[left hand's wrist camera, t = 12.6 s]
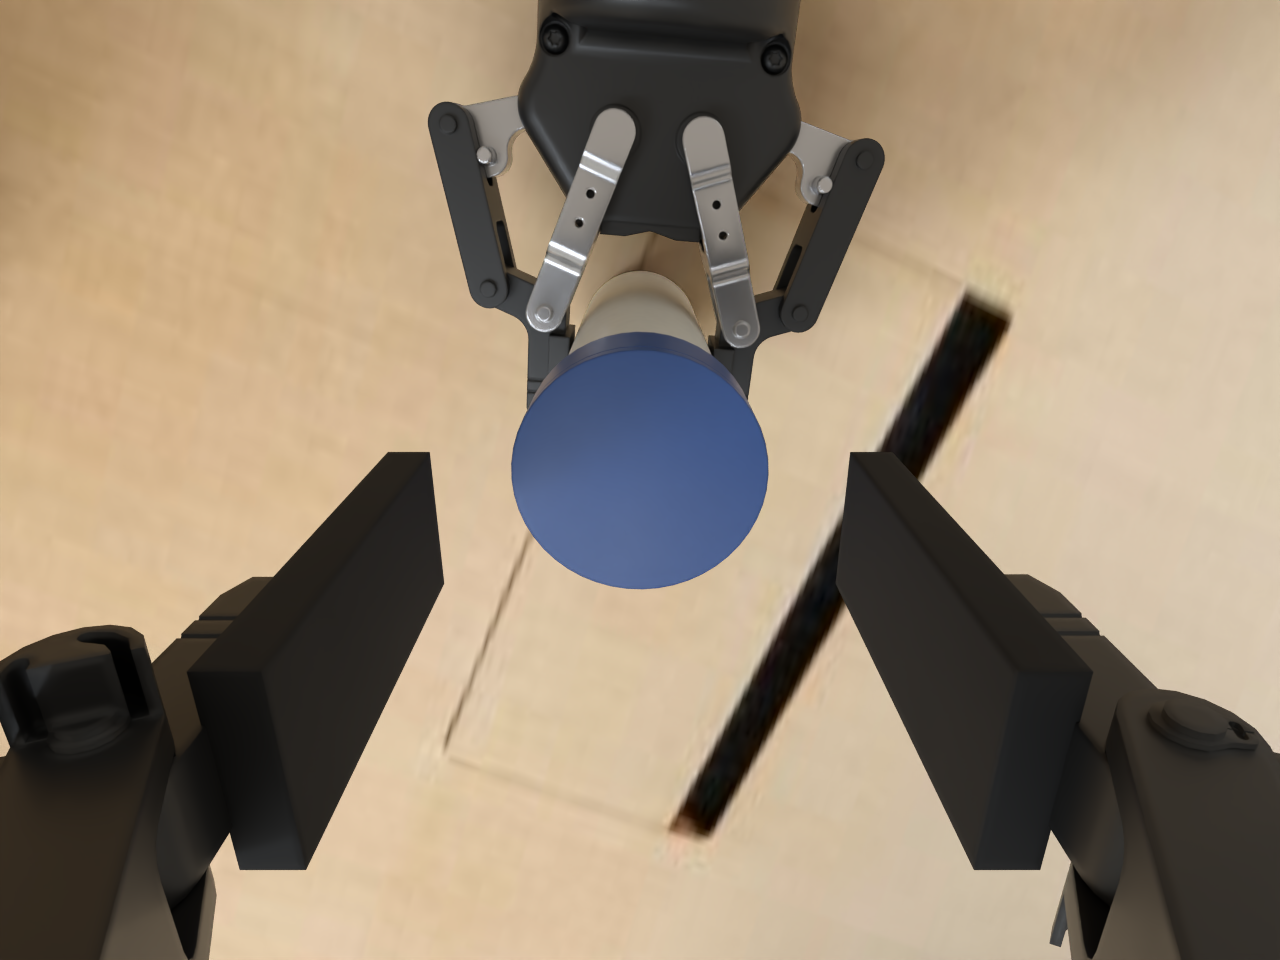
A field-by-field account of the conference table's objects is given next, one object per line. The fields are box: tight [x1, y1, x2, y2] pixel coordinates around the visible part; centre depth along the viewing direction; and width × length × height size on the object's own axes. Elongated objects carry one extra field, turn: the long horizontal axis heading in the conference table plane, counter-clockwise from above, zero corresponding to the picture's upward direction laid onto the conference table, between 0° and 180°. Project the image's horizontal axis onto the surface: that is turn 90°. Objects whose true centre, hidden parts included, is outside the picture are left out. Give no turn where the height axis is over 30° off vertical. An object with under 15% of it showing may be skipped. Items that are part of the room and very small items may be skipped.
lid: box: [511, 332, 768, 589], centre depth 17 cm, size 6×6×2 cm
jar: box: [569, 271, 711, 354], centre depth 24 cm, size 5×5×17 cm
